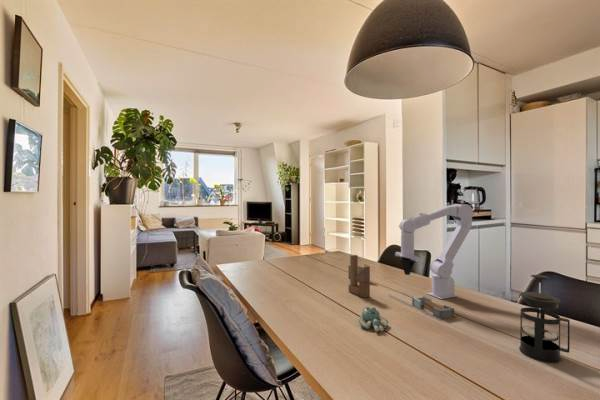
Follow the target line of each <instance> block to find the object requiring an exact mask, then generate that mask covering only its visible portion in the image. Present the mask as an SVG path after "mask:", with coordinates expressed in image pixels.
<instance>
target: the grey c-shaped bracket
mask: <svg viewBox="0 0 600 400" xmlns="http://www.w3.org/2000/svg"><path fill="white" fill-rule="evenodd" d="M443 307H444V308H446V309H443V310H440V309H438V308H436V307H433V313H432V315H434V316H436V317H438V318H440V321H441V320H446V319H451V318H452V319H453V318H455V317H454V315H455V308H454V307H451V306H449V305H446V304H444V305H443Z"/></svg>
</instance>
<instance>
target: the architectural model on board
mask: <svg viewBox="0 0 600 400" xmlns="http://www.w3.org/2000/svg"><path fill="white" fill-rule="evenodd" d="M368 266H370V265H369V263H368V264H366V263H365V264H364V266H359V265H358V274H359V272H360V271H361V270H362V269H363V268H364V267H368ZM348 279H349V280H350V264H349V265H348ZM358 282H359V280H358Z"/></svg>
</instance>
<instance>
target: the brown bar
mask: <svg viewBox="0 0 600 400" xmlns="http://www.w3.org/2000/svg"><path fill="white" fill-rule="evenodd" d="M433 307H436V308H438V309H440V310H443V309H446V308H444V306H441V305H440V304H437V303H435V302H433V301H432V300H431V301H425V302H424V305H423V309H425V311H426V310H427V312H429V313H431V314H433Z"/></svg>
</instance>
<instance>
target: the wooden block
mask: <svg viewBox="0 0 600 400" xmlns="http://www.w3.org/2000/svg"><path fill="white" fill-rule="evenodd" d="M349 257H350V258H349V259H350V260H349V262H350V263H349V265H350V279H349V280H350V281H349V283H350V284H348V292H349V293H351V294H354V295H356V296H358V297H362V298H363V299H365V298H370V295H371V294H370V293H371V289H370V287H371V286H370V283H371V282H370V281H371V277H370V276H371V275H370V274H371V271H370V270H371V269H370V268H371V267H370V265H368V267H364V266H363V267H364V268H363V269H362V270H361V271H360V272H359V274H358V266H359V261H358V260H359V257H358V254H350V255H349ZM358 280H359V281H358Z"/></svg>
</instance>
